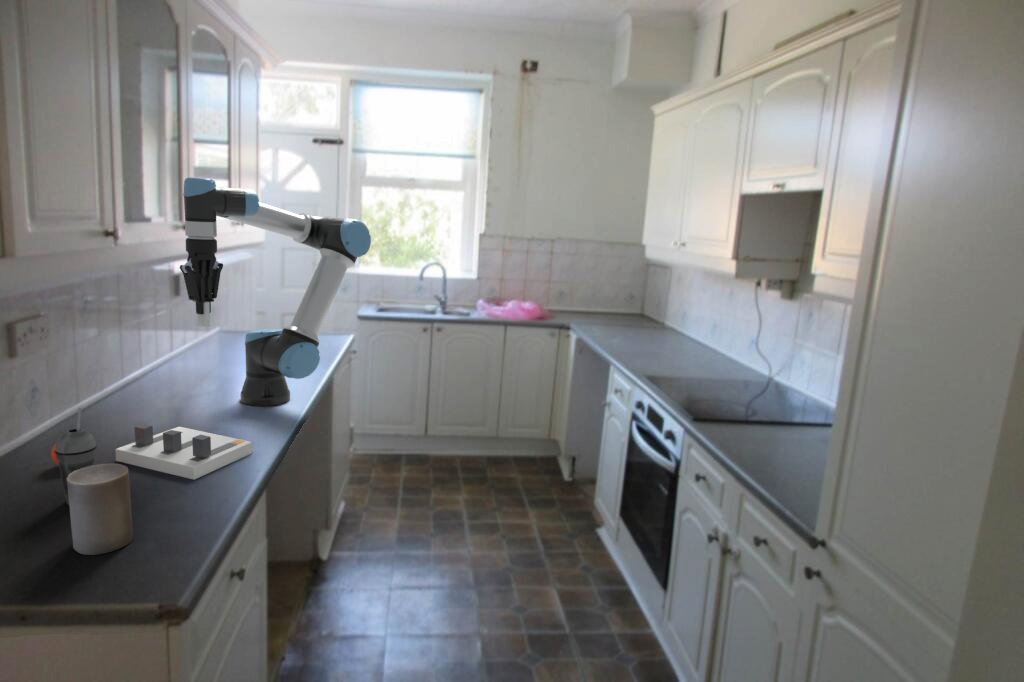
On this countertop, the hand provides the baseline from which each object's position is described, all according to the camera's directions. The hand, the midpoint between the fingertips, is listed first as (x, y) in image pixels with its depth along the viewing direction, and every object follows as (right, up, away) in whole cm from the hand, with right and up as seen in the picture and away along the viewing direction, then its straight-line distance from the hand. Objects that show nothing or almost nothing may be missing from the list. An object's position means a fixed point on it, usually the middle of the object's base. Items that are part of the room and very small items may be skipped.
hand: (204, 325), depth 177 cm
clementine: (-20, -34, -23) cm, 46 cm away
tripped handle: (+10, -31, -22) cm, 39 cm away
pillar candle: (+7, -42, -56) cm, 70 cm away
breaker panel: (+2, -33, -14) cm, 36 cm away
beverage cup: (-7, -38, -40) cm, 56 cm away
